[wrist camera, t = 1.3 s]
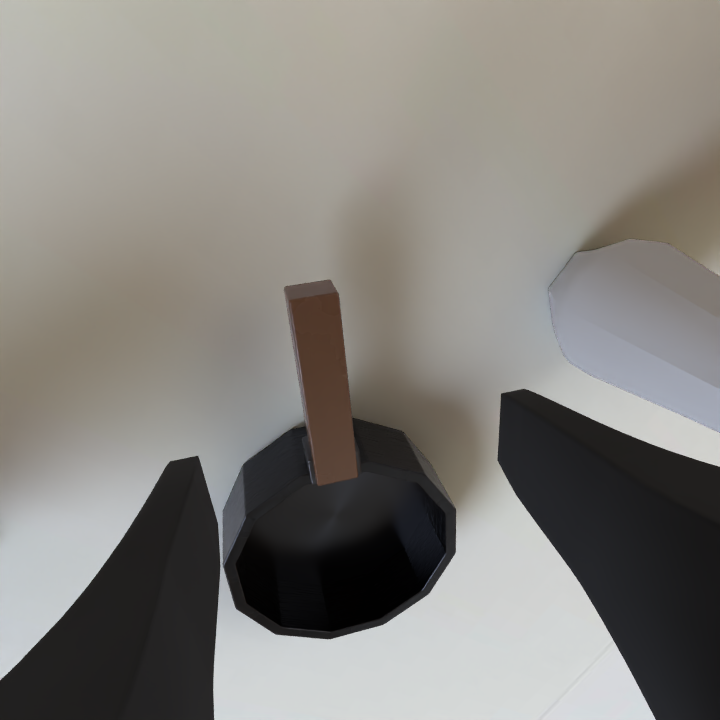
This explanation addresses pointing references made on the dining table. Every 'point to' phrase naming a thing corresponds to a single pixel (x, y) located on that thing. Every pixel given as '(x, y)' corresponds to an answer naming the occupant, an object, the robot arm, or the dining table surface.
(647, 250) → the salt shaker
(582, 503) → the robot arm
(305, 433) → the pan
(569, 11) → the dining table surface
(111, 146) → the dining table surface
